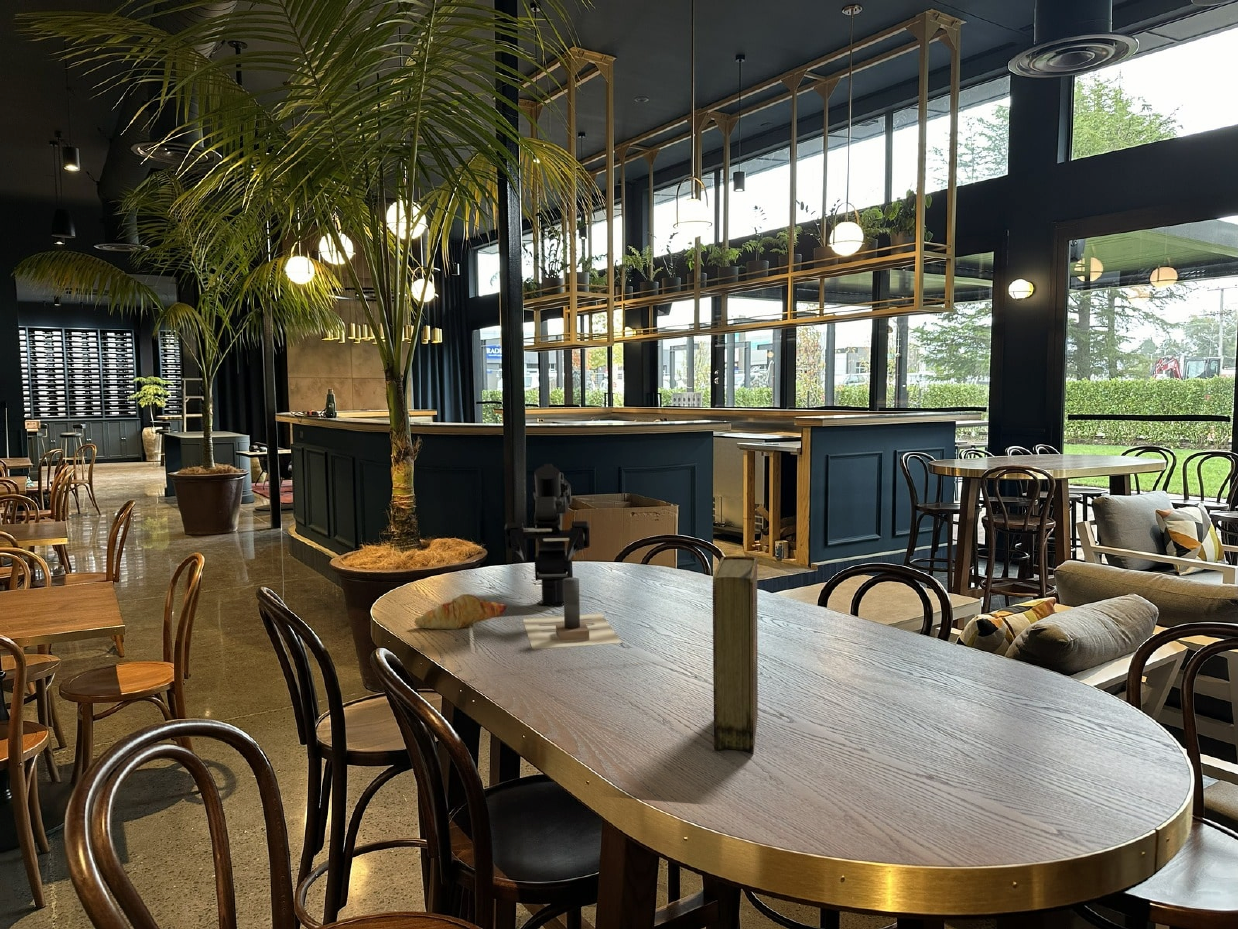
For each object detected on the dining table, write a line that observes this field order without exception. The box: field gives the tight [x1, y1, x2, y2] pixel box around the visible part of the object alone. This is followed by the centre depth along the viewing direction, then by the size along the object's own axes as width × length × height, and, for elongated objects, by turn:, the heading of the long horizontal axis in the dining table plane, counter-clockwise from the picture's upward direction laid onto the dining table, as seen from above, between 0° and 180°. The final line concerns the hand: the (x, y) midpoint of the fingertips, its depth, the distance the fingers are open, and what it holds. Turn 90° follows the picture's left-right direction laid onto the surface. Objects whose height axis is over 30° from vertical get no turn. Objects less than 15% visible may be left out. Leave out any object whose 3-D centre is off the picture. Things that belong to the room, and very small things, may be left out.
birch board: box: [522, 613, 623, 650], centre depth 179 cm, size 24×18×1 cm
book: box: [712, 555, 759, 754], centre depth 124 cm, size 16×6×25 cm, turn 168°
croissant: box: [413, 593, 507, 630], centre depth 189 cm, size 21×10×8 cm, turn 119°
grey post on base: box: [556, 577, 589, 642], centre depth 173 cm, size 7×6×12 cm
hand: (546, 559), depth 180 cm, fingers open, 9 cm apart
